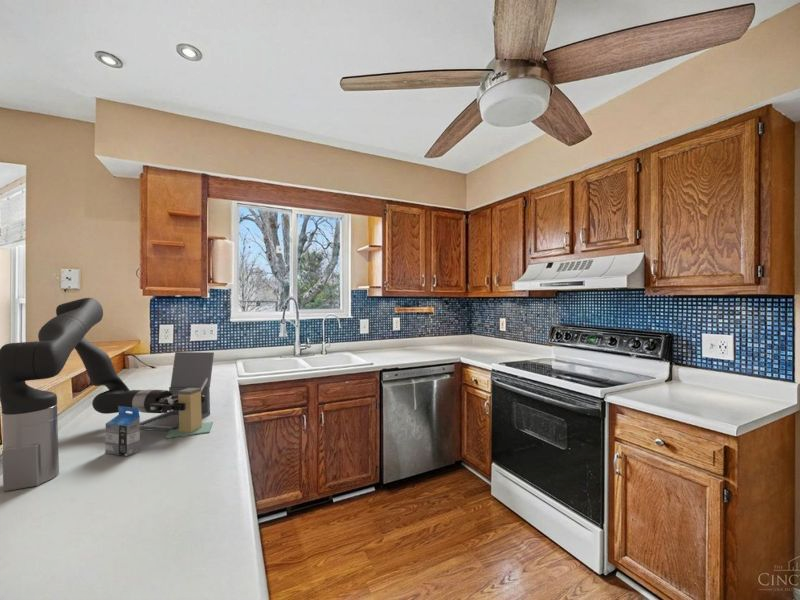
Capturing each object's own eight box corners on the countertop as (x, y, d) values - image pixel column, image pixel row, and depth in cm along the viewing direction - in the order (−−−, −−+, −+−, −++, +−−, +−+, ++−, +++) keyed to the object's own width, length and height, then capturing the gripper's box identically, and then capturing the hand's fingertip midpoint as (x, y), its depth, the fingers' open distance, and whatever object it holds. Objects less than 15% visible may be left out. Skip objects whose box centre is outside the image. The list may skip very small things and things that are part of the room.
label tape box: (104, 453, 100) (103, 409, 100) (119, 447, 103) (118, 405, 103) (126, 457, 97) (125, 412, 97) (141, 451, 101) (140, 407, 101)
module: (191, 432, 113) (190, 391, 113) (179, 431, 114) (177, 391, 114) (202, 426, 118) (201, 387, 118) (190, 426, 119) (189, 387, 119)
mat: (209, 432, 114) (209, 431, 114) (165, 439, 109) (165, 437, 109) (213, 422, 123) (213, 421, 123) (172, 428, 118) (172, 427, 118)
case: (173, 431, 116) (171, 361, 116) (131, 428, 119) (129, 360, 119) (215, 411, 135) (214, 352, 135) (178, 410, 138) (176, 351, 138)
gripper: (132, 395, 112) (177, 397, 109) (170, 384, 126) (210, 386, 123) (133, 419, 112) (177, 421, 109) (170, 405, 126) (210, 407, 123)
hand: (195, 402), depth 116 cm, fingers open, 8 cm apart
